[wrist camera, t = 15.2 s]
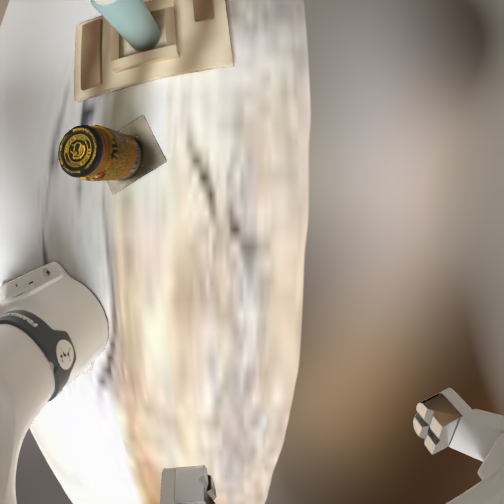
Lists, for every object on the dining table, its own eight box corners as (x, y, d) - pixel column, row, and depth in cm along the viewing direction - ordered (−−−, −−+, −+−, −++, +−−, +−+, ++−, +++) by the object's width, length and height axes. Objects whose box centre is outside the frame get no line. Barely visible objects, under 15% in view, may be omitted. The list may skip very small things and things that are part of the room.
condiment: (92, 149, 37) (42, 141, 26) (143, 115, 37) (106, 93, 25) (114, 194, 39) (67, 201, 27) (167, 162, 38) (135, 155, 26)
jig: (78, 101, 36) (68, 97, 33) (79, 28, 33) (71, 21, 30) (233, 66, 35) (232, 58, 32) (223, -9, 33) (222, -20, 30)
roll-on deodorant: (130, 54, 33) (81, 6, 19) (130, 29, 33) (85, -24, 18) (162, 47, 33) (124, -9, 19) (161, 21, 32) (126, -38, 18)
